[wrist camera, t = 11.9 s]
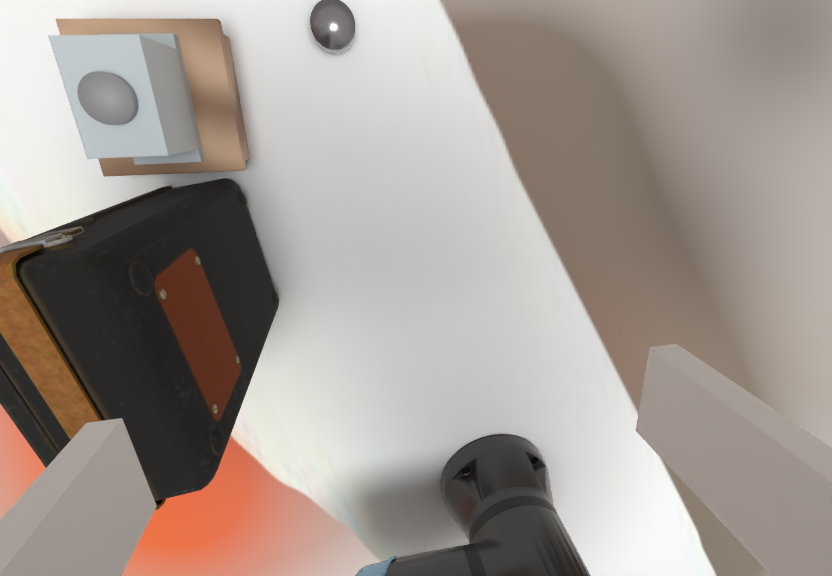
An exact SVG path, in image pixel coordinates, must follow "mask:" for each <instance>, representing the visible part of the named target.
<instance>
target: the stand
mask: <svg viewBox="0 0 832 576" xmlns="http://www.w3.org/2000/svg"><path fill="white" fill-rule="evenodd" d="M56 22H57V25H58V28H59V31H60V35H99V34H169V33H173V34H175V35H177V36H178V38H179V43H180V47H181V52H182V57H183V61H184V66H185V71H186V75H187V80H188V85H189V89H190V94H191V99H192V103H193V108H194V113H195V117H196V122H197V127H198V131H199V136H200V141H201V145H202V150H203V155H204V159H205V161H202V162H187V163H163V164H139V165H135V164H134V160H133V157H118V158H98V159H99V162H100V165H101V169H102V172H103V175H104V176H125V175H148V174H171V173H195V172H218V171H241V170H246V163H245V161H246V160H248V159H250V158H249V152H248V147H247V141H246V135H245V129H244V123H243V118H242V112H241V106H240V100H239V94H238V89H237V83H236V77H235V71H234V65H233V60H232V54H231V48H230V42H229V38H228V37H226V36H225V35H223V33H222V27H221V22H220V21H219V20H218V19H56Z"/></svg>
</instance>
